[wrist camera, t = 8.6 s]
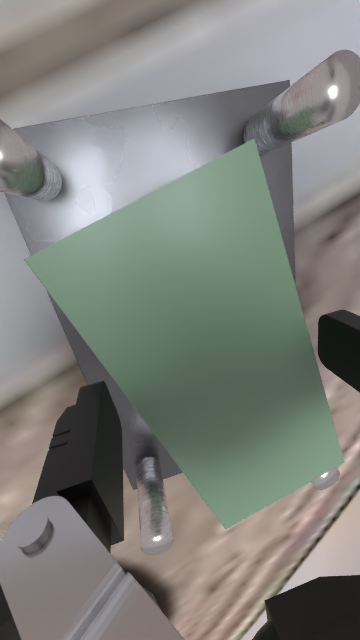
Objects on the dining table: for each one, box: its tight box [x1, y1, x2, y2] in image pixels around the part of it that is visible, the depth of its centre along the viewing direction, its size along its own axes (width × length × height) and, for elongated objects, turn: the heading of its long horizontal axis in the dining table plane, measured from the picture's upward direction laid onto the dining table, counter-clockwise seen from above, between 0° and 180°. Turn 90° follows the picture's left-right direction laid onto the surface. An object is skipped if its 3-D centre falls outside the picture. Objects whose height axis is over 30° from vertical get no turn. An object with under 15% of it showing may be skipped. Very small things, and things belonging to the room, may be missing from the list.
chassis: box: [0, 50, 360, 555], centre depth 11 cm, size 18×11×5 cm, turn 12°
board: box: [24, 138, 344, 529], centre depth 10 cm, size 12×6×5 cm, turn 25°
